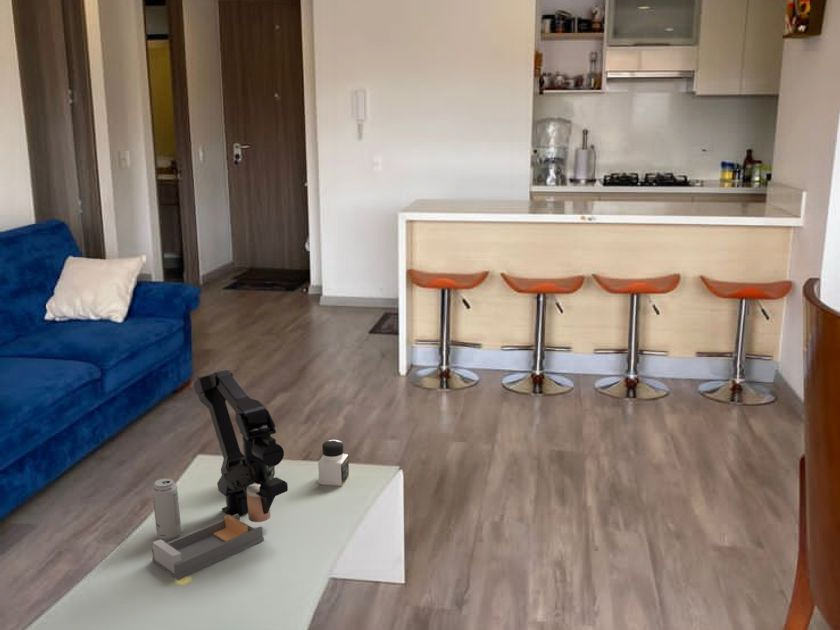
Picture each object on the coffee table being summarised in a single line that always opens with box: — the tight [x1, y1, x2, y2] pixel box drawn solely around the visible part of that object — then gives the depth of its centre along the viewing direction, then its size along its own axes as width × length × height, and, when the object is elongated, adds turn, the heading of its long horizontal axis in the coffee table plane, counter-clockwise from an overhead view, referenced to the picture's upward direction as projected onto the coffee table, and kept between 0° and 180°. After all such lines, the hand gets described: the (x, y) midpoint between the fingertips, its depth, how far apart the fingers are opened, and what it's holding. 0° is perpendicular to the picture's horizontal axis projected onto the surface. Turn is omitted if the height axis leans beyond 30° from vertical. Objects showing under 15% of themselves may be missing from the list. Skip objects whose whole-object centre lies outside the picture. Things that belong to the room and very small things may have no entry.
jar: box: [246, 484, 271, 523], centre depth 205 cm, size 6×6×8 cm
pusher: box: [213, 514, 249, 542], centre depth 200 cm, size 8×5×4 cm, turn 46°
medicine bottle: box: [317, 439, 350, 487], centre depth 233 cm, size 7×7×12 cm
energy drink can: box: [152, 477, 182, 542], centre depth 202 cm, size 6×6×15 cm
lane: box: [151, 514, 265, 580], centre depth 196 cm, size 12×24×6 cm, turn 136°
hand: (258, 509), depth 206 cm, fingers closed on jar, 6 cm apart
